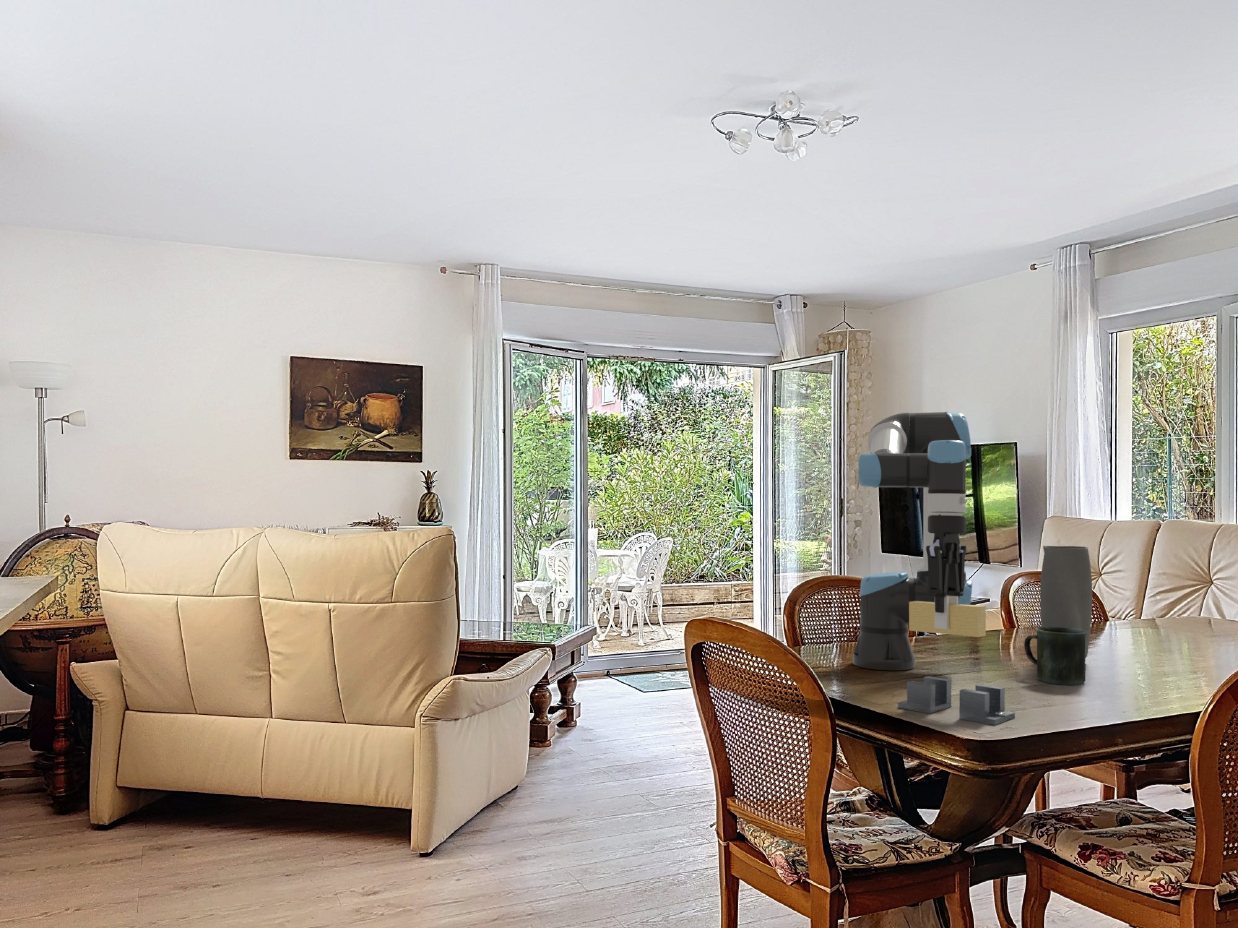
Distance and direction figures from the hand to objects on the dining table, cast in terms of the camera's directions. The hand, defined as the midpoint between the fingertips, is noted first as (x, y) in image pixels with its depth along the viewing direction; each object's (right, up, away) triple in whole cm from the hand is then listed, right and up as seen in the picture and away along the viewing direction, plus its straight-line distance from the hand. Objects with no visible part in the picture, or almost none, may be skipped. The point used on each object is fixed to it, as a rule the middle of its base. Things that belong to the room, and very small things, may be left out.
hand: (946, 627), depth 202 cm
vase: (+48, -18, +51) cm, 73 cm away
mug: (+34, -17, +27) cm, 47 cm away
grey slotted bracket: (-5, -15, -5) cm, 17 cm away
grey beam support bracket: (+3, -15, -12) cm, 20 cm away
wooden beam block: (0, -1, 0) cm, 1 cm away
